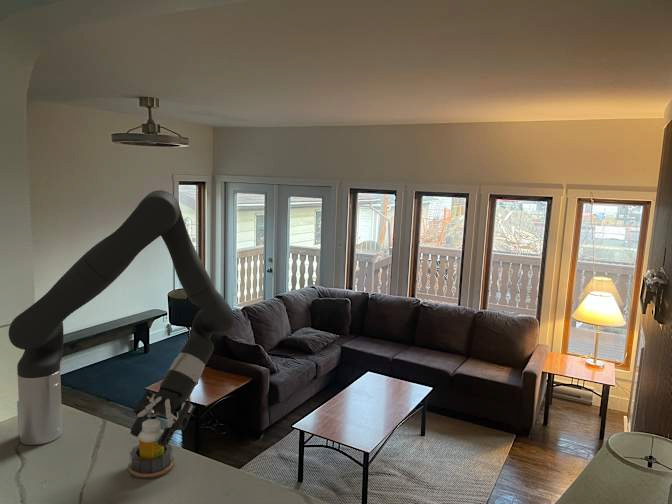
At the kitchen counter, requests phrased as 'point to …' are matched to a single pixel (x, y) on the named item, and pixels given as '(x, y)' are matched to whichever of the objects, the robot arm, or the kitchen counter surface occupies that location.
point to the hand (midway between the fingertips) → (146, 440)
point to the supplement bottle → (150, 439)
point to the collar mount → (150, 464)
